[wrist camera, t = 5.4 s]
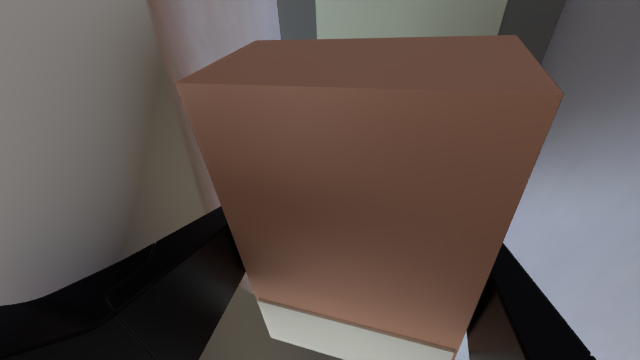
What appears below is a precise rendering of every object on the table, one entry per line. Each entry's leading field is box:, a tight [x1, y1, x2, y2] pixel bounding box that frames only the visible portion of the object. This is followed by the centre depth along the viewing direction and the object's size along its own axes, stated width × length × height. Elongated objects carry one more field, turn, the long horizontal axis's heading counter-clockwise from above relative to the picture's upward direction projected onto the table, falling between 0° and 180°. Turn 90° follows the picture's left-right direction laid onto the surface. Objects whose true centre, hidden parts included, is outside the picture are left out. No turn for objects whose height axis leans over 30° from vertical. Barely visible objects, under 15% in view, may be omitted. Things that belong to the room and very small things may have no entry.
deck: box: [175, 35, 564, 360], centre depth 9 cm, size 10×6×3 cm, turn 5°
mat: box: [277, 0, 566, 65], centre depth 16 cm, size 16×12×1 cm
